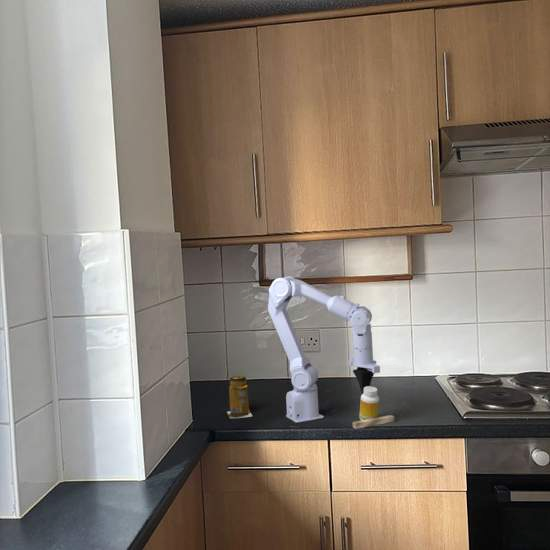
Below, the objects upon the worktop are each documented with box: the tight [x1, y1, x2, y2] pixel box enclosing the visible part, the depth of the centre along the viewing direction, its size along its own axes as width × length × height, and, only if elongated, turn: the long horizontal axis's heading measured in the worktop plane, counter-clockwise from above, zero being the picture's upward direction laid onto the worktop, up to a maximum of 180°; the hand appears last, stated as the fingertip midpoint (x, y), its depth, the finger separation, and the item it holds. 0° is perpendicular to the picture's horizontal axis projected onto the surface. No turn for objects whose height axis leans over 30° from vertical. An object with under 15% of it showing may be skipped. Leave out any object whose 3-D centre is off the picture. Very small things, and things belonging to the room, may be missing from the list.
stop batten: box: [352, 414, 395, 430], centre depth 166 cm, size 13×2×2 cm, turn 112°
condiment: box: [226, 375, 253, 419], centre depth 184 cm, size 7×8×12 cm
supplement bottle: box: [358, 385, 380, 421], centre depth 169 cm, size 5×5×10 cm
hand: (365, 392), depth 171 cm, fingers closed, pressing on supplement bottle
